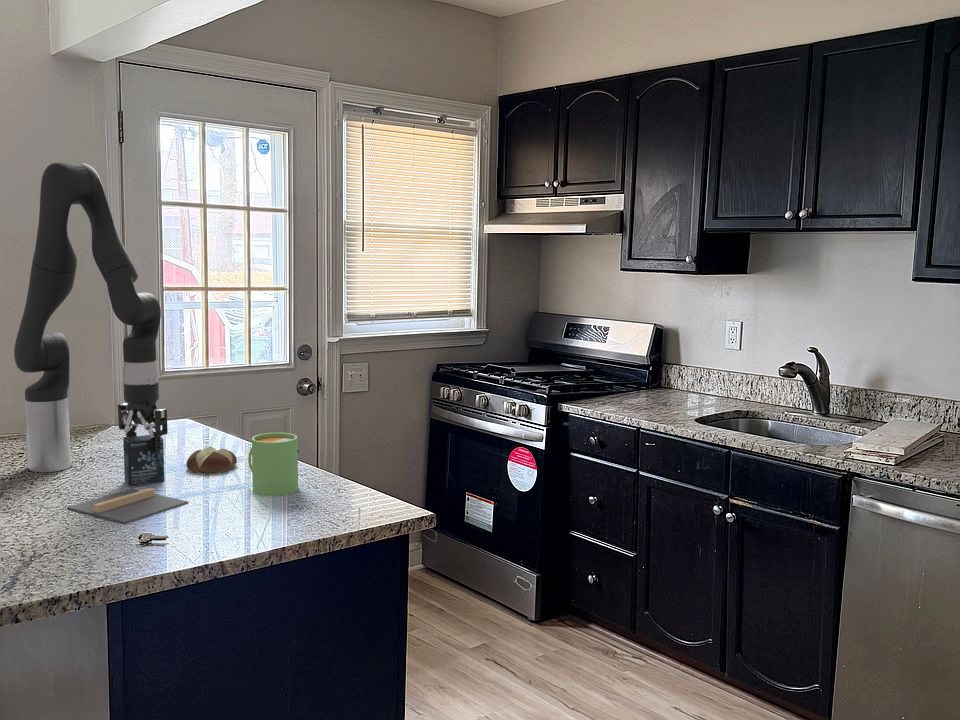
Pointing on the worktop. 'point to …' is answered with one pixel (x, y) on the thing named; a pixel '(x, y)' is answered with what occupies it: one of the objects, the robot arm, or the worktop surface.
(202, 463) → the bread
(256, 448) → the mug
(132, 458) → the box
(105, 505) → the mat
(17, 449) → the worktop surface
